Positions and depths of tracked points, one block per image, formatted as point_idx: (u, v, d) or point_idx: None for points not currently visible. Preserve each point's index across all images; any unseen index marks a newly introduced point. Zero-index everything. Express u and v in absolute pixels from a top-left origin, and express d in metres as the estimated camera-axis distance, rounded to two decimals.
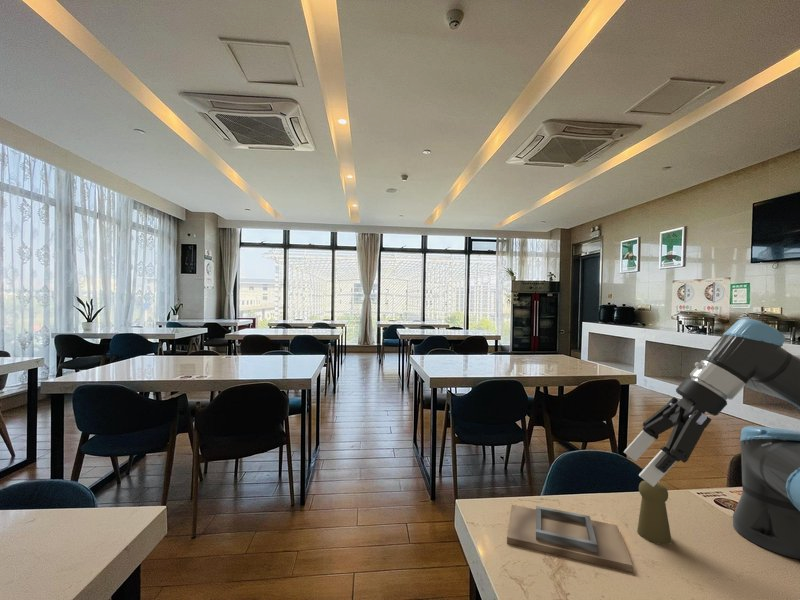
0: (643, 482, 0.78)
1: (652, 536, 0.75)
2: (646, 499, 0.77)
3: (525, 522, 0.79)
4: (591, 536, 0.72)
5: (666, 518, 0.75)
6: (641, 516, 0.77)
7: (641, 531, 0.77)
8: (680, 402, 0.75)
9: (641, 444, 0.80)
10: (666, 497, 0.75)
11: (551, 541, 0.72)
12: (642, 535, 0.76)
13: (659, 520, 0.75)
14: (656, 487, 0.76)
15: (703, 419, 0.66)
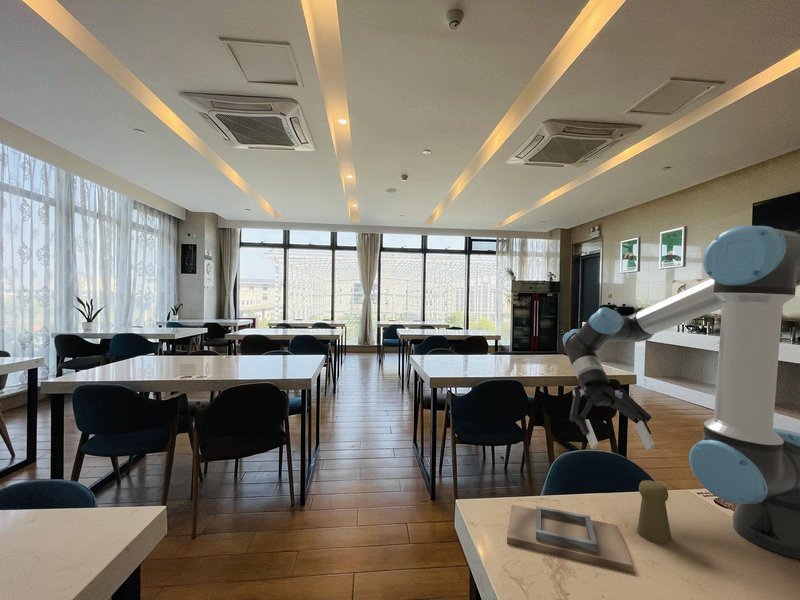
0: (643, 482, 0.78)
1: (652, 536, 0.75)
2: (646, 499, 0.77)
3: (525, 522, 0.79)
4: (591, 536, 0.72)
5: (666, 518, 0.75)
6: (641, 516, 0.77)
7: (641, 531, 0.77)
8: None
9: (642, 433, 0.91)
10: (666, 497, 0.75)
11: (551, 541, 0.72)
12: (642, 535, 0.76)
13: (659, 520, 0.75)
14: (656, 487, 0.76)
15: (573, 391, 1.00)
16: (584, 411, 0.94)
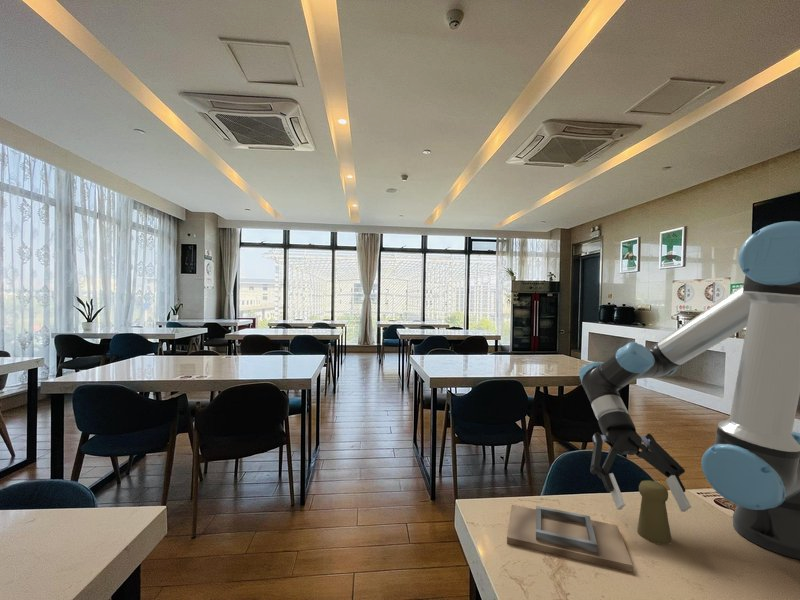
0: (643, 482, 0.78)
1: (652, 536, 0.75)
2: (646, 499, 0.77)
3: (525, 522, 0.79)
4: (591, 536, 0.72)
5: (666, 518, 0.75)
6: (641, 516, 0.77)
7: (641, 531, 0.77)
8: None
9: (675, 490, 0.79)
10: (666, 497, 0.75)
11: (551, 541, 0.72)
12: (642, 535, 0.76)
13: (659, 520, 0.75)
14: (656, 487, 0.76)
15: (594, 437, 0.88)
16: (607, 463, 0.83)
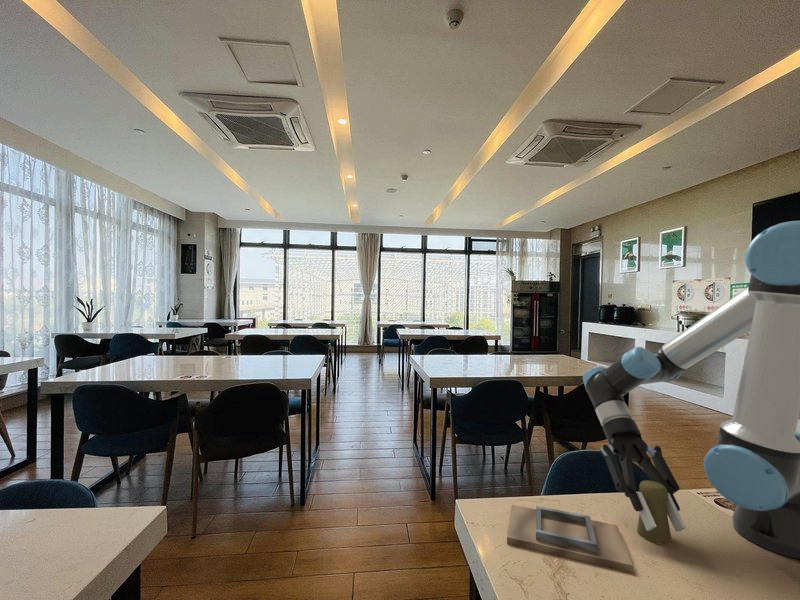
0: (643, 482, 0.78)
1: (652, 536, 0.75)
2: (646, 499, 0.77)
3: (525, 522, 0.79)
4: (591, 536, 0.72)
5: (666, 518, 0.75)
6: None
7: (641, 531, 0.77)
8: None
9: (669, 508, 0.76)
10: (666, 497, 0.75)
11: (551, 541, 0.72)
12: (642, 535, 0.76)
13: (659, 520, 0.75)
14: (656, 487, 0.76)
15: (603, 450, 0.85)
16: (630, 479, 0.79)
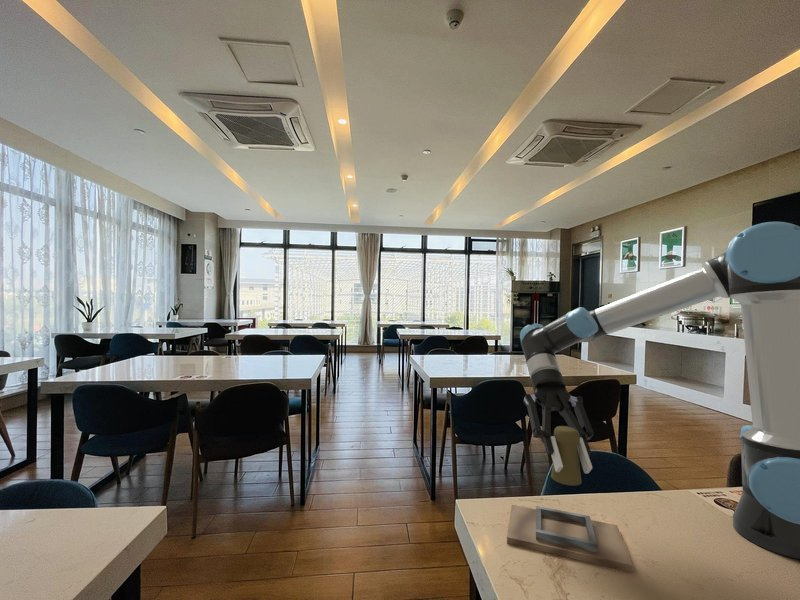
0: None
1: (561, 477, 0.76)
2: (558, 443, 0.77)
3: (525, 522, 0.79)
4: (591, 536, 0.72)
5: (576, 460, 0.76)
6: None
7: (553, 474, 0.78)
8: None
9: (580, 452, 0.77)
10: (576, 440, 0.76)
11: (551, 541, 0.72)
12: (553, 477, 0.77)
13: (569, 462, 0.75)
14: (567, 430, 0.76)
15: (525, 400, 0.86)
16: (546, 425, 0.80)
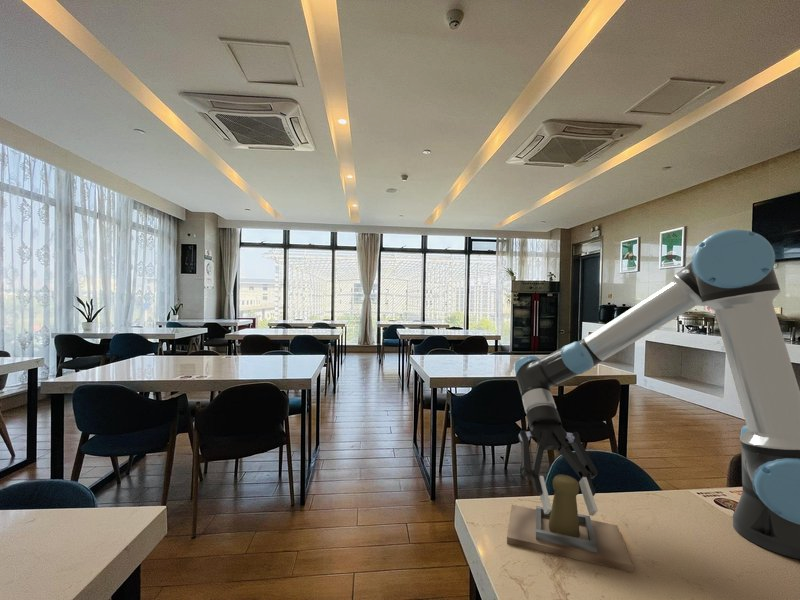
0: (556, 476, 0.77)
1: (560, 530, 0.74)
2: (557, 493, 0.76)
3: (525, 522, 0.79)
4: (591, 536, 0.72)
5: (575, 512, 0.74)
6: (552, 510, 0.76)
7: (551, 525, 0.76)
8: None
9: (585, 492, 0.76)
10: (576, 491, 0.74)
11: (551, 541, 0.72)
12: (551, 529, 0.75)
13: (567, 514, 0.74)
14: (567, 481, 0.75)
15: (520, 436, 0.85)
16: (536, 464, 0.79)
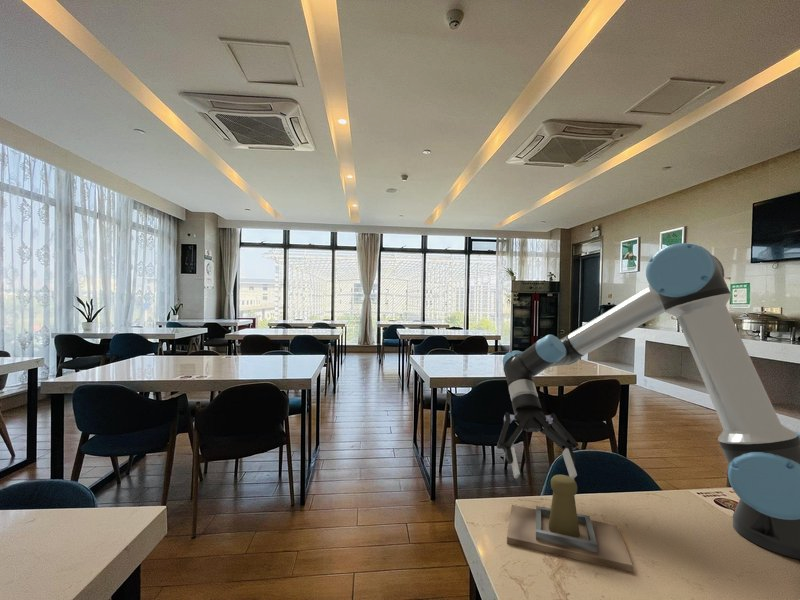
0: (554, 476, 0.77)
1: (559, 531, 0.74)
2: (555, 494, 0.76)
3: (525, 522, 0.79)
4: (591, 536, 0.72)
5: (574, 512, 0.74)
6: (552, 510, 0.76)
7: (551, 526, 0.76)
8: None
9: (567, 461, 0.90)
10: (574, 491, 0.74)
11: (551, 541, 0.72)
12: (551, 530, 0.75)
13: (566, 514, 0.74)
14: (565, 481, 0.75)
15: (504, 416, 0.98)
16: (511, 438, 0.93)
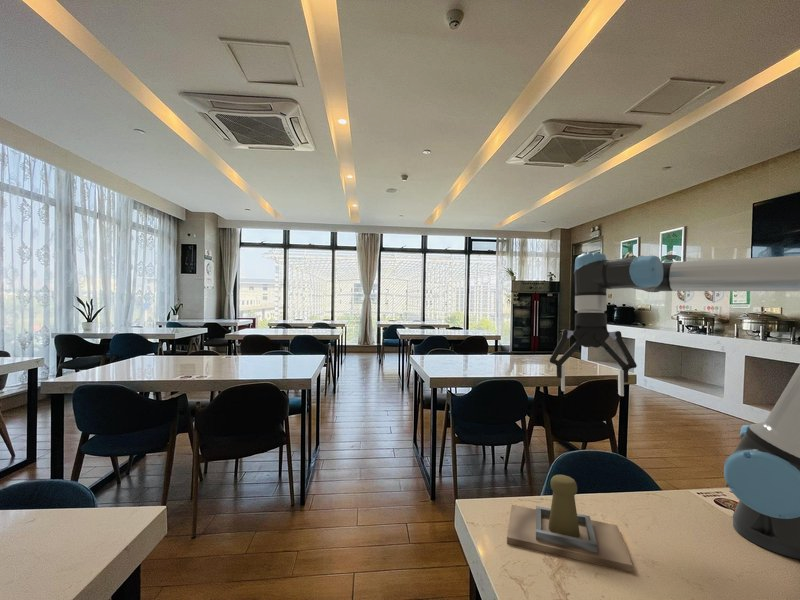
0: (554, 476, 0.77)
1: (559, 531, 0.74)
2: (555, 494, 0.76)
3: (525, 522, 0.79)
4: (591, 536, 0.72)
5: (574, 512, 0.74)
6: (552, 510, 0.76)
7: (551, 526, 0.76)
8: None
9: (619, 380, 0.93)
10: (574, 491, 0.74)
11: (551, 541, 0.72)
12: (551, 530, 0.75)
13: (566, 514, 0.74)
14: (564, 481, 0.75)
15: (562, 332, 0.98)
16: (563, 357, 0.97)
